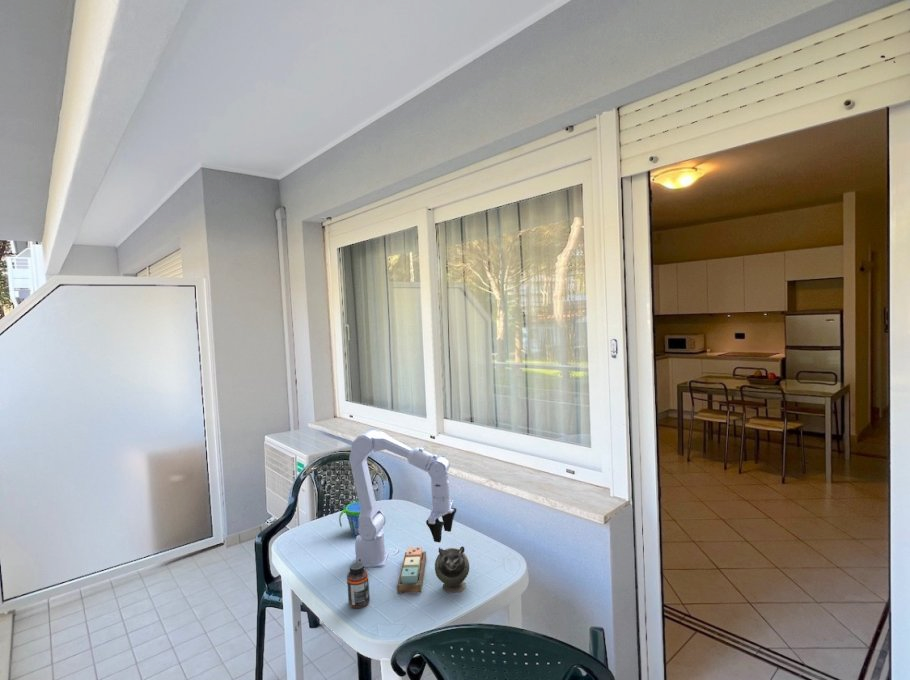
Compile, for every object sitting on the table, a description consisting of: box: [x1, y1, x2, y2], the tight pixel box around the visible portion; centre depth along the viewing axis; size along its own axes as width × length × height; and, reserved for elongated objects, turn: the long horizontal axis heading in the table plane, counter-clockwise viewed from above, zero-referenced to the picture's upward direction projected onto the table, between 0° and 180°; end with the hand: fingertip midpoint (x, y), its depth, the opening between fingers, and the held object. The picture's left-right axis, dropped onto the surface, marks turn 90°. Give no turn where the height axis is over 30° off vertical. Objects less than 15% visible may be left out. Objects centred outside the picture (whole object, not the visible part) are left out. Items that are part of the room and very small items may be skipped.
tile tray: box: [396, 551, 427, 595], centre depth 149 cm, size 7×19×2 cm, turn 179°
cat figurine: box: [434, 546, 470, 594], centre depth 141 cm, size 10×12×10 cm
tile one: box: [404, 557, 421, 572], centre depth 149 cm, size 5×5×3 cm
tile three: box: [406, 546, 423, 561], centre depth 155 cm, size 5×5×3 cm
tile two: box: [401, 567, 419, 584], centre depth 143 cm, size 5×5×3 cm
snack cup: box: [338, 500, 361, 537], centre depth 181 cm, size 16×10×10 cm
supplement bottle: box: [346, 561, 371, 609], centre depth 136 cm, size 6×6×11 cm
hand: (442, 536), depth 154 cm, fingers open, 7 cm apart
